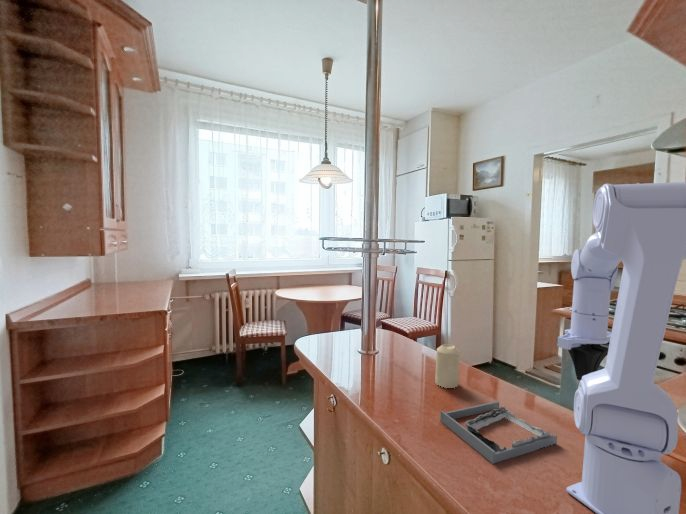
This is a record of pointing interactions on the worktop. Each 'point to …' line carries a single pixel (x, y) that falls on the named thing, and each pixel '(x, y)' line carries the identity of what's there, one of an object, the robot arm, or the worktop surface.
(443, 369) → the candle
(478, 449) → the box
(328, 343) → the worktop surface
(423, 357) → the worktop surface
